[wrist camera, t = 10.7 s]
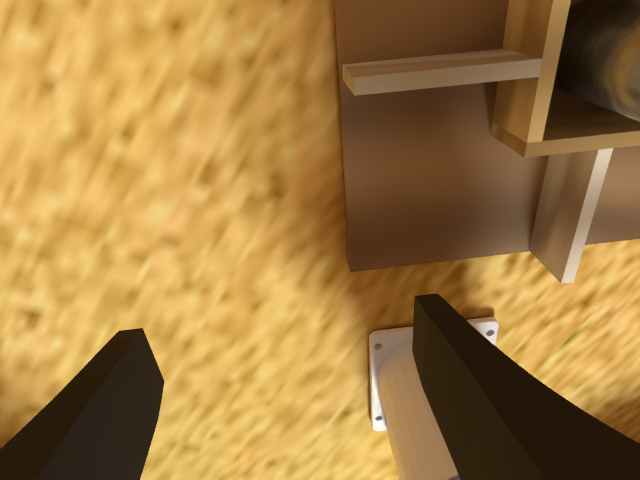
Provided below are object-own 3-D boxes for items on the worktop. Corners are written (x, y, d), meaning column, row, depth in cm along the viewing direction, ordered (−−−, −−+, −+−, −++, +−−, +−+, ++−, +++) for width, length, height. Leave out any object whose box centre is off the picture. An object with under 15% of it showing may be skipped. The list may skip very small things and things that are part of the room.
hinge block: (630, 231, 23) (688, 270, 20) (348, 263, 23) (359, 308, 19) (768, -152, 15) (905, -193, 12) (328, -114, 14) (342, -145, 11)
